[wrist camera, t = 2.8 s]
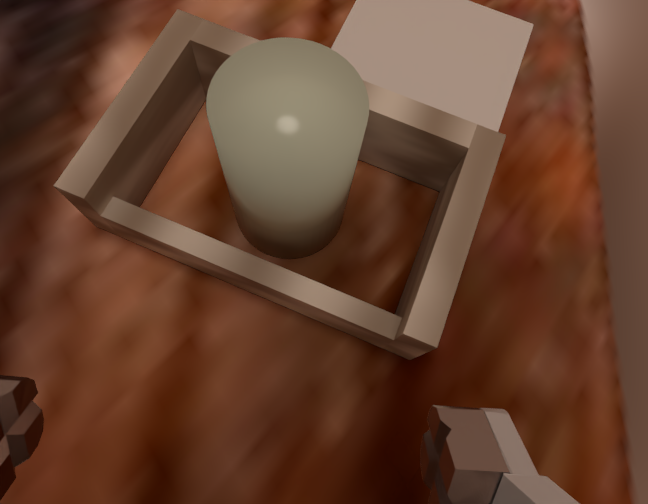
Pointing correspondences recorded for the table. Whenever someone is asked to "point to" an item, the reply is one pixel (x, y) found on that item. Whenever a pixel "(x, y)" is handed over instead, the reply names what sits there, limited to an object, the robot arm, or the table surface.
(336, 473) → the table surface
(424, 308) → the frame
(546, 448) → the table surface
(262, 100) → the sage green rounded cylinder
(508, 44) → the concrete tile
